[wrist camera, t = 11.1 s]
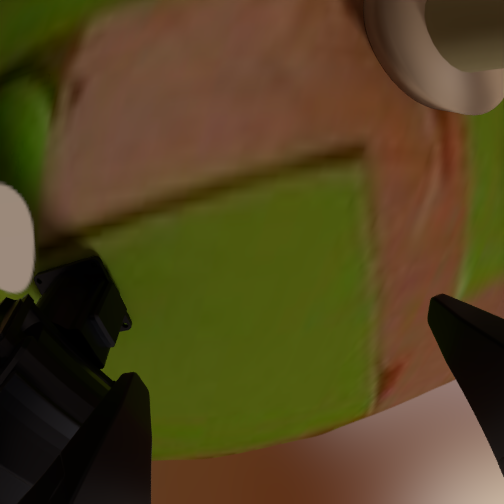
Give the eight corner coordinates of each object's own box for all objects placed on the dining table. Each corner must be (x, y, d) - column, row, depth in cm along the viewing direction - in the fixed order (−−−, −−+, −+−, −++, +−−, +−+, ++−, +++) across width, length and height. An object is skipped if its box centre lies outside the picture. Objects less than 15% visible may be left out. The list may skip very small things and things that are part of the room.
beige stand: (381, 115, 18) (406, 119, 15) (343, -45, 12) (361, -62, 10) (495, 109, 18) (520, 115, 15) (469, -22, 12) (492, -27, 10)
